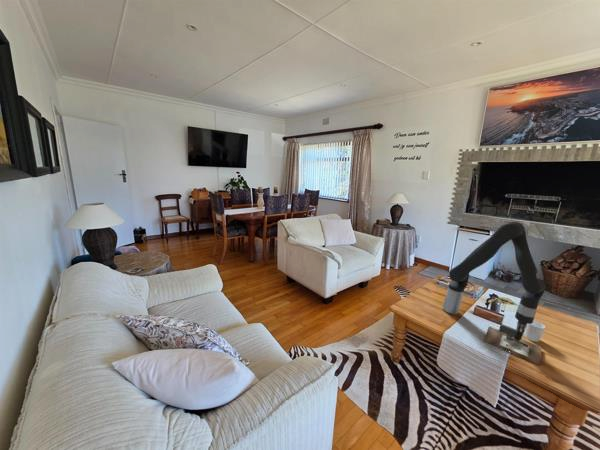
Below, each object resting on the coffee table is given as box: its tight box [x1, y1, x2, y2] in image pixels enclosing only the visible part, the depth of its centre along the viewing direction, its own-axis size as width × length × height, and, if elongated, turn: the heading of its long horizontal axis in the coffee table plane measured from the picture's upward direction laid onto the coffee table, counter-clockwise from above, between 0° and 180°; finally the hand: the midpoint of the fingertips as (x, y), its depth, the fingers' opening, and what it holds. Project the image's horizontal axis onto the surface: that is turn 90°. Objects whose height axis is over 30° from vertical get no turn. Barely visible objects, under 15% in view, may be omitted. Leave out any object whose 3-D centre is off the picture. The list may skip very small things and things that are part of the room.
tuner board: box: [483, 326, 542, 366], centre depth 140 cm, size 24×16×2 cm, turn 46°
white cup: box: [523, 319, 546, 343], centre depth 146 cm, size 8×8×10 cm
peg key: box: [498, 323, 529, 346], centre depth 141 cm, size 14×2×7 cm, turn 46°
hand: (517, 338), depth 140 cm, fingers closed on peg key, 2 cm apart
